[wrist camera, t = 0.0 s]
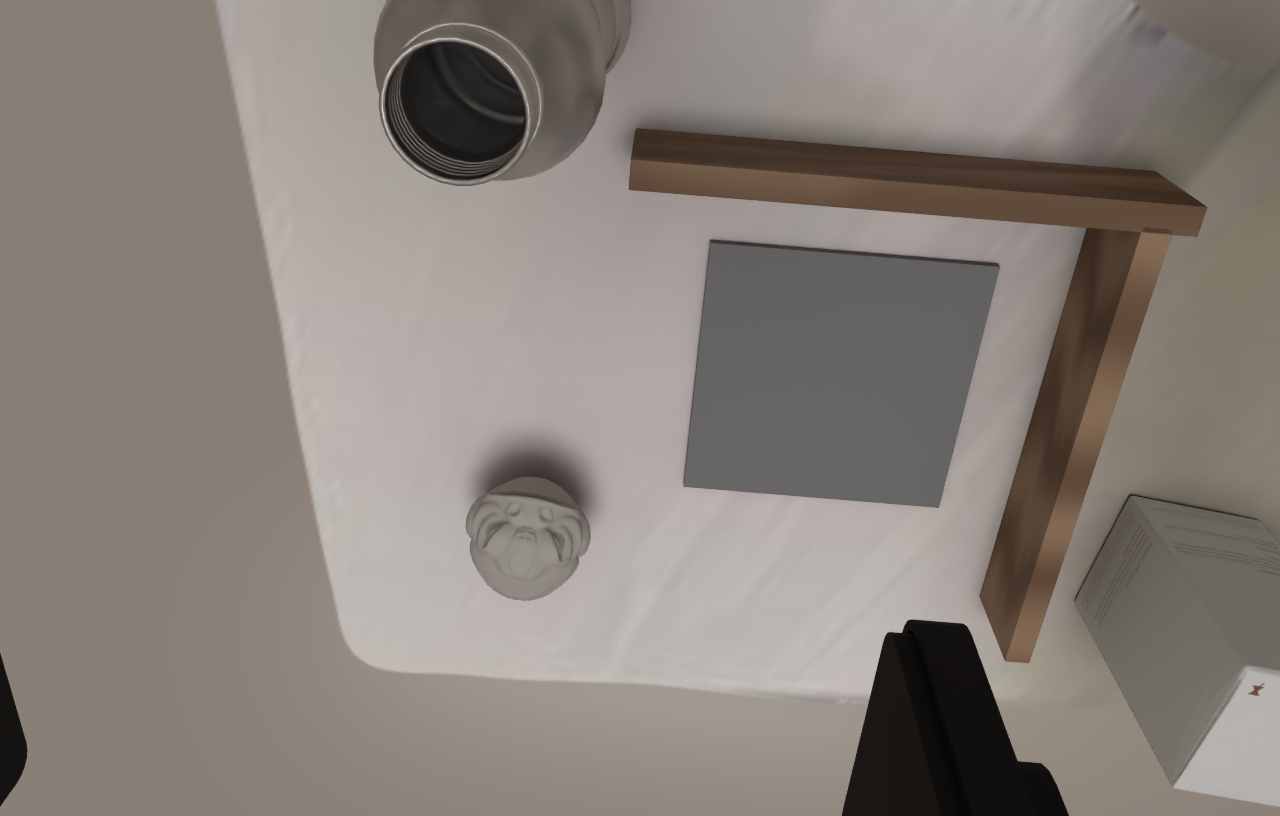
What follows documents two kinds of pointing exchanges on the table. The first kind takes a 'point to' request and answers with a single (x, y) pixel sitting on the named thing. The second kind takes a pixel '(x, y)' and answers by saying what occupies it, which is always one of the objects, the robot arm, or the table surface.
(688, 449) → the slate mat
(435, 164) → the plastic bottle
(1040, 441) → the corner walls
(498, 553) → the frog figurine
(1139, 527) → the supplement box
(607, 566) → the table surface
